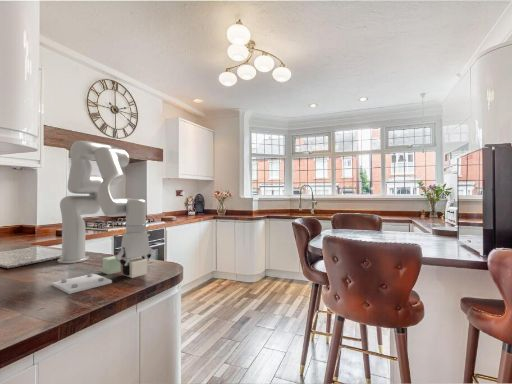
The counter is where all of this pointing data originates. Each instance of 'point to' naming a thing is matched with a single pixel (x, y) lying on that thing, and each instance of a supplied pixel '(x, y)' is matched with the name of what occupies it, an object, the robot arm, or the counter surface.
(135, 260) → the cream block
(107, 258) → the sage block
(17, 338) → the counter surface
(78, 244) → the robot arm
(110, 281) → the plate
